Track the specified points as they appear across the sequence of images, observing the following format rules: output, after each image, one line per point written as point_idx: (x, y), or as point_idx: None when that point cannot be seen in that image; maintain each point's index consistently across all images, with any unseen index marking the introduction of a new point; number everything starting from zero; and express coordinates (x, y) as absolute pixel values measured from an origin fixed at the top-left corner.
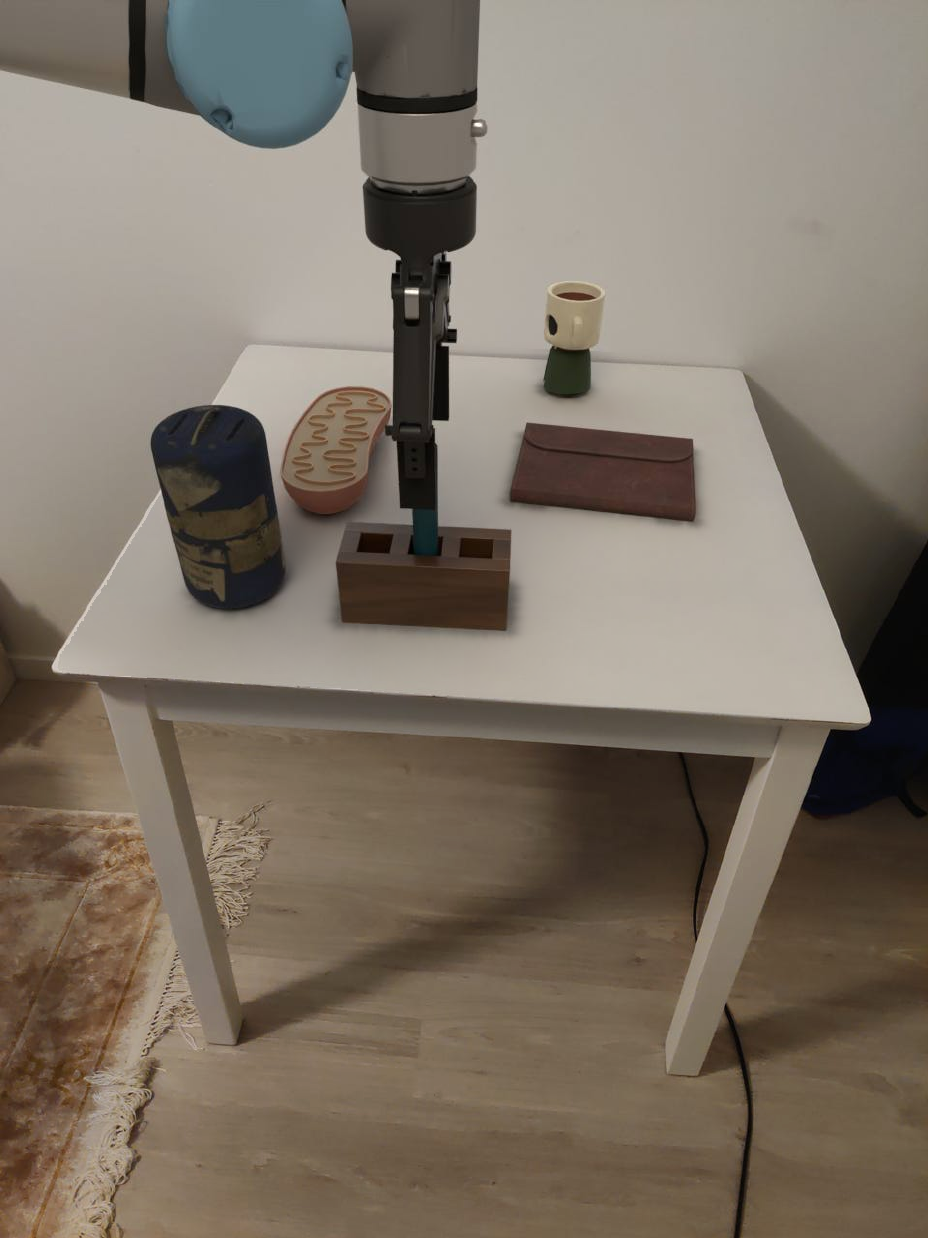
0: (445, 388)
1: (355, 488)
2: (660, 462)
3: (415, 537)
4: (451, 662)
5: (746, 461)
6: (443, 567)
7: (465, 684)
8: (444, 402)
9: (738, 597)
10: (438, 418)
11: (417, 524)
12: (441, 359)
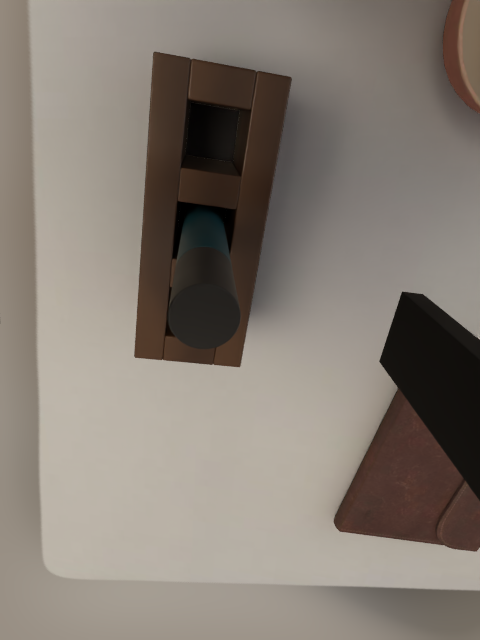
0: (420, 406)
1: (464, 95)
2: (440, 514)
3: (189, 222)
4: (84, 235)
5: (432, 576)
6: (141, 261)
7: (44, 250)
8: (401, 379)
9: (202, 530)
10: (388, 342)
11: (184, 235)
12: (471, 461)
